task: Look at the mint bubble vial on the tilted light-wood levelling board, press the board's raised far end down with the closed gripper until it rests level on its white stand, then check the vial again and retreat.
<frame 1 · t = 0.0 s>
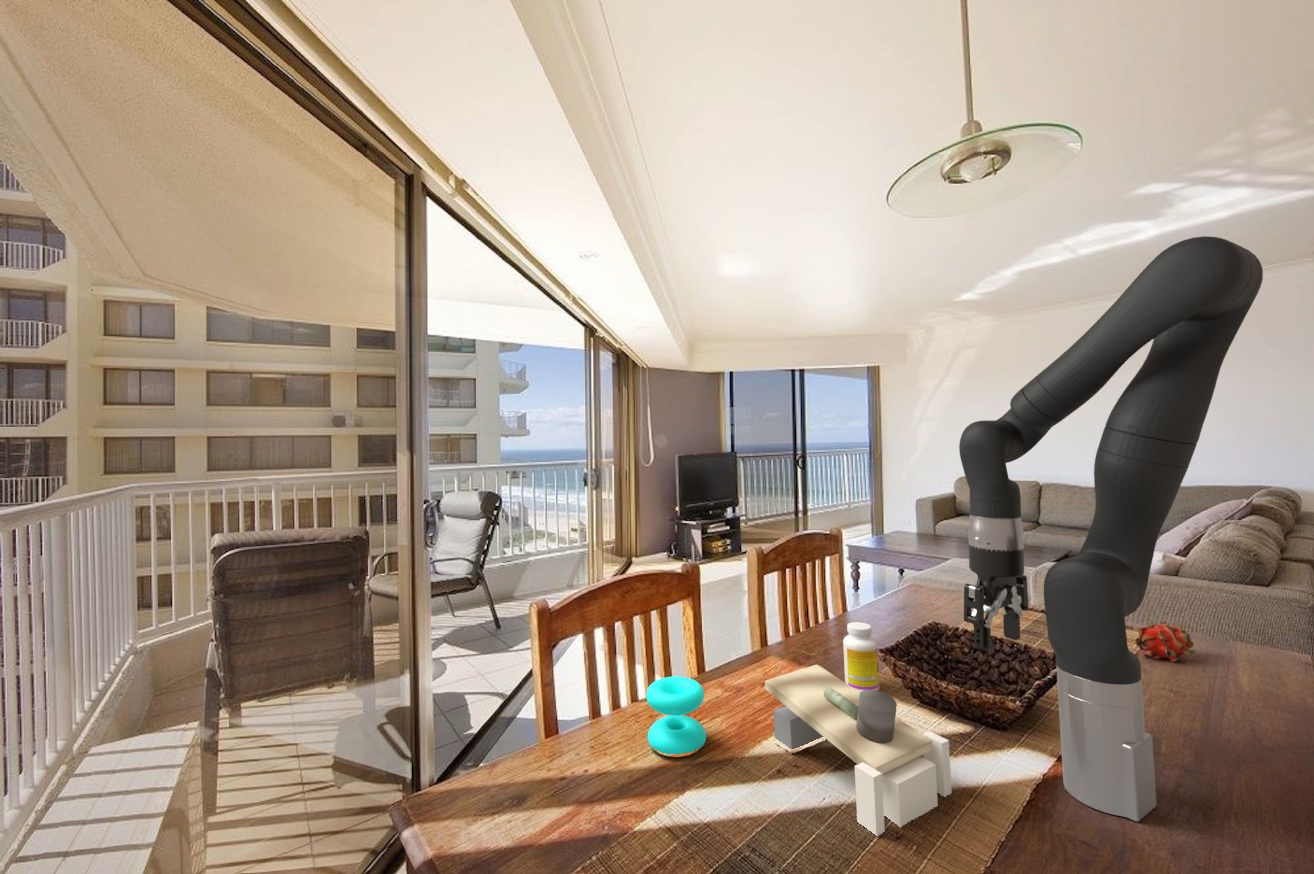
hand: (997, 643, 86), 17 cm above the table, tool pointing down, fingers open, 8 cm apart
level stand: (906, 807, 73), on the table
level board: (843, 697, 82), point 11 cm above the table, hinge at 10.0°
dragon fruit: (1164, 659, 119), on the table
donuts: (677, 745, 91), on the table
supplement bottle: (862, 689, 110), on the table
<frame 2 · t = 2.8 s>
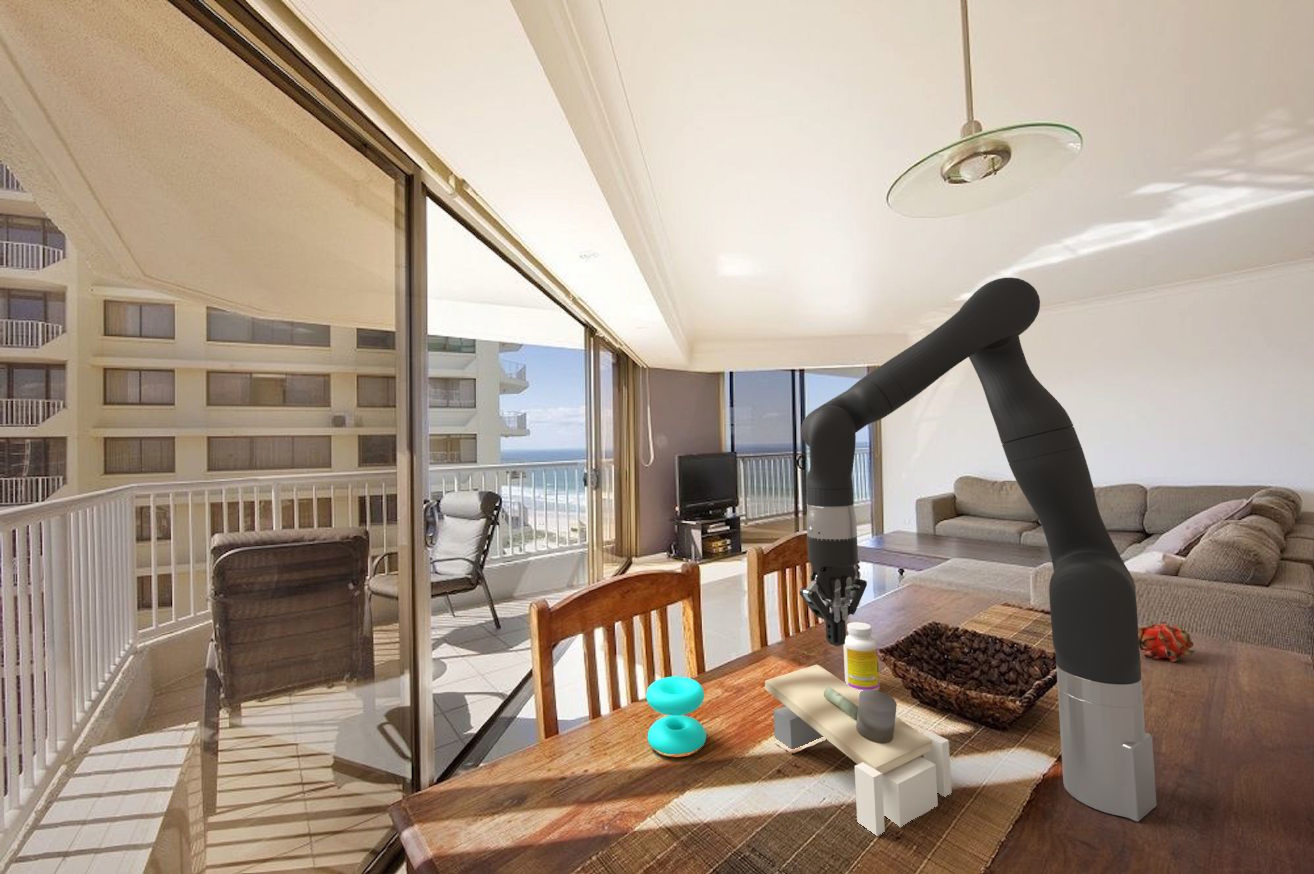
hand: (836, 643, 83), 19 cm above the table, tool pointing down, fingers closed
nothing on the table moved.
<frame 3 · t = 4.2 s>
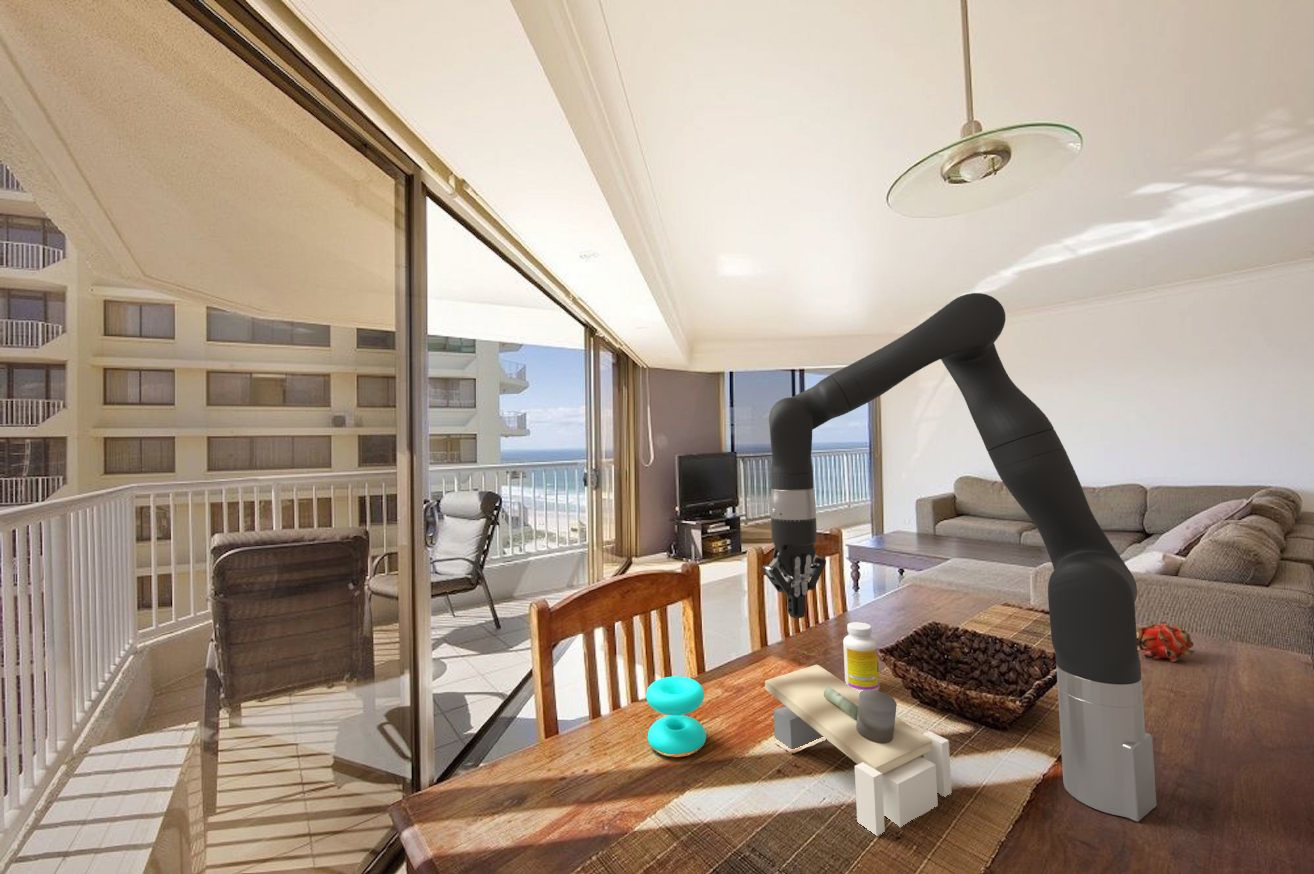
hand: (796, 616, 91), 21 cm above the table, tool pointing down, fingers closed
nothing on the table moved.
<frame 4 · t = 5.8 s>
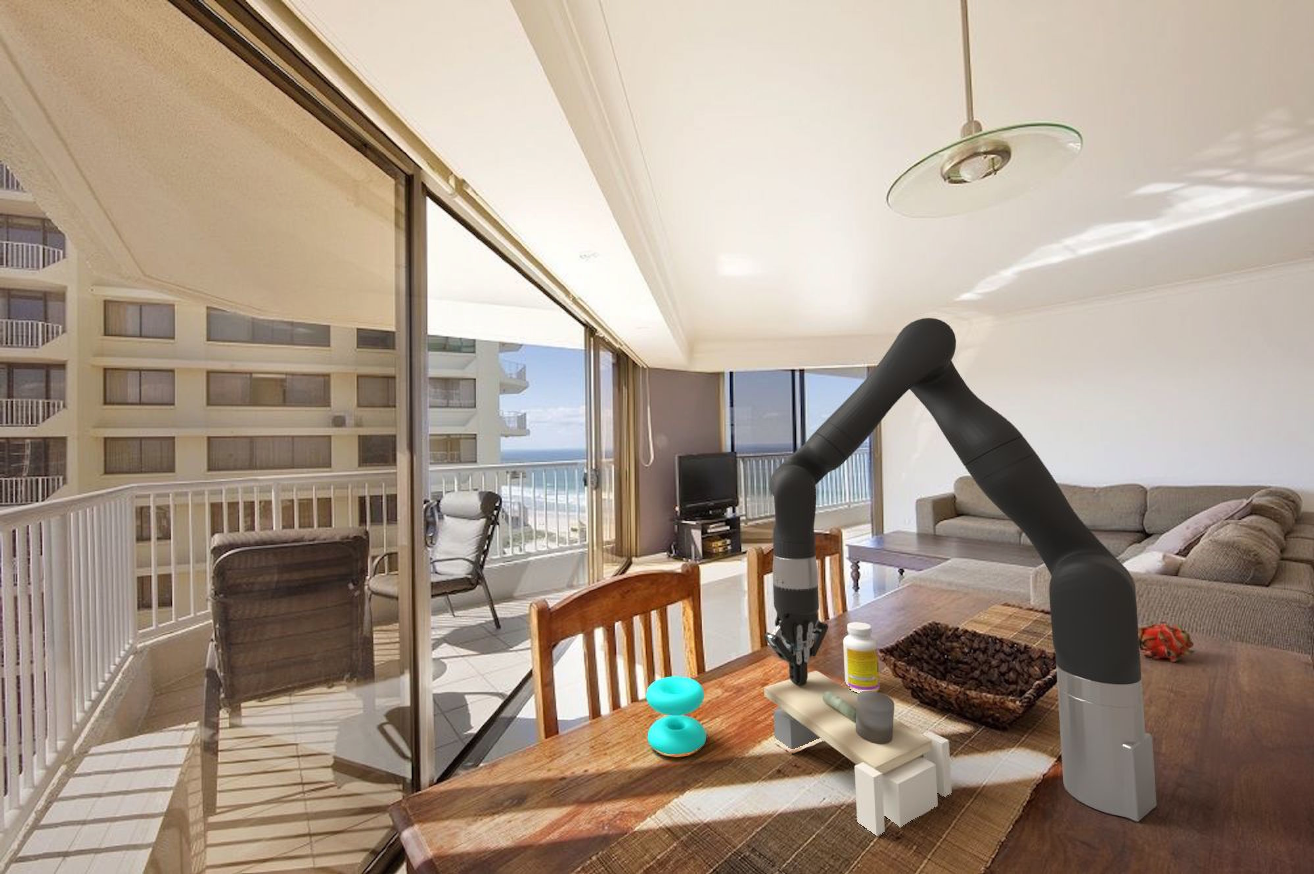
hand: (799, 683, 91), 10 cm above the table, tool pointing down, fingers closed
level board: (841, 700, 83), point 11 cm above the table, hinge at 6.8°, touching gripper
everything else where it was.
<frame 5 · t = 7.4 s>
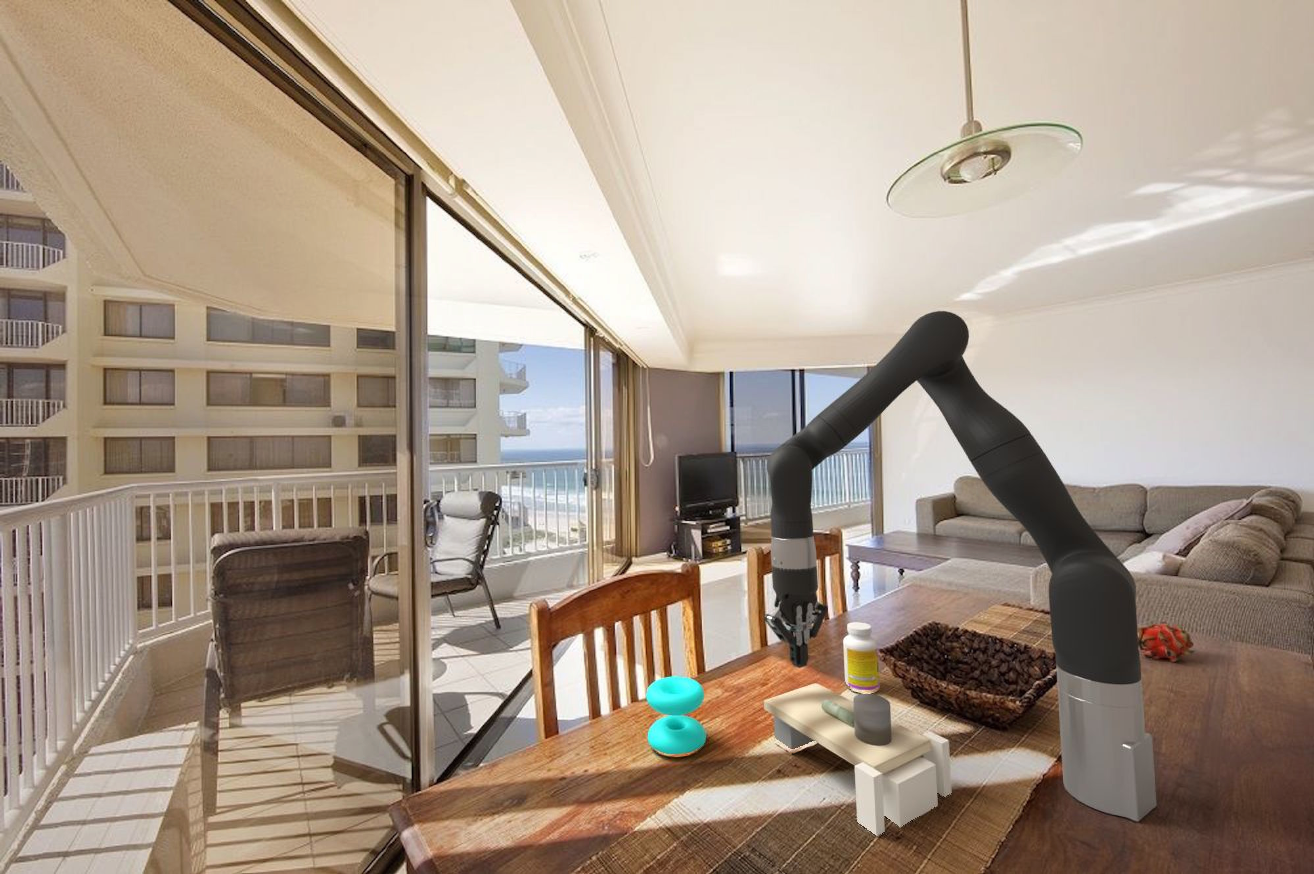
hand: (799, 665, 90), 13 cm above the table, tool pointing down, fingers closed
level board: (840, 707, 83), point 9 cm above the table, hinge at 0.8°
everything else where it was.
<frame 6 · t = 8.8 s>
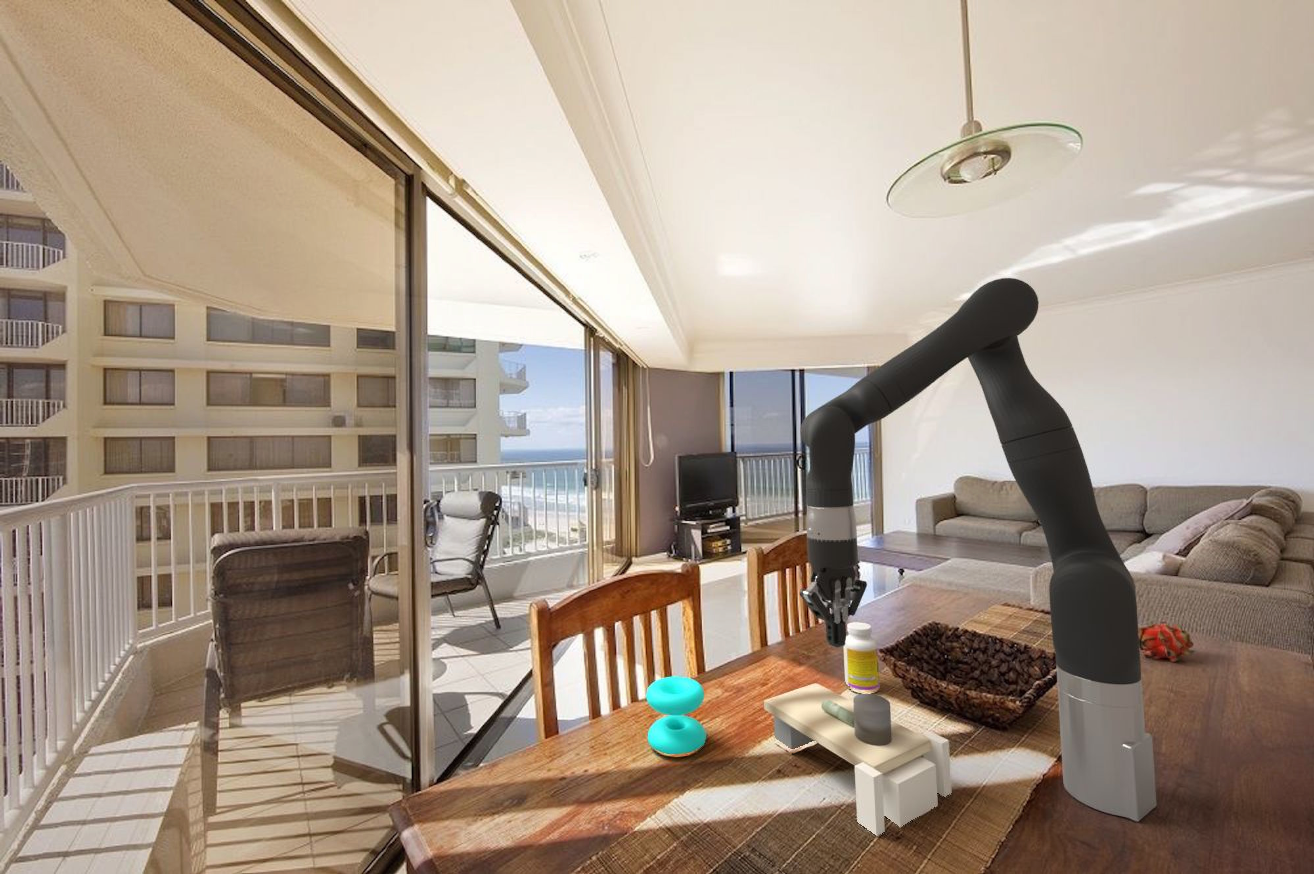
hand: (836, 644, 83), 19 cm above the table, tool pointing down, fingers closed
nothing on the table moved.
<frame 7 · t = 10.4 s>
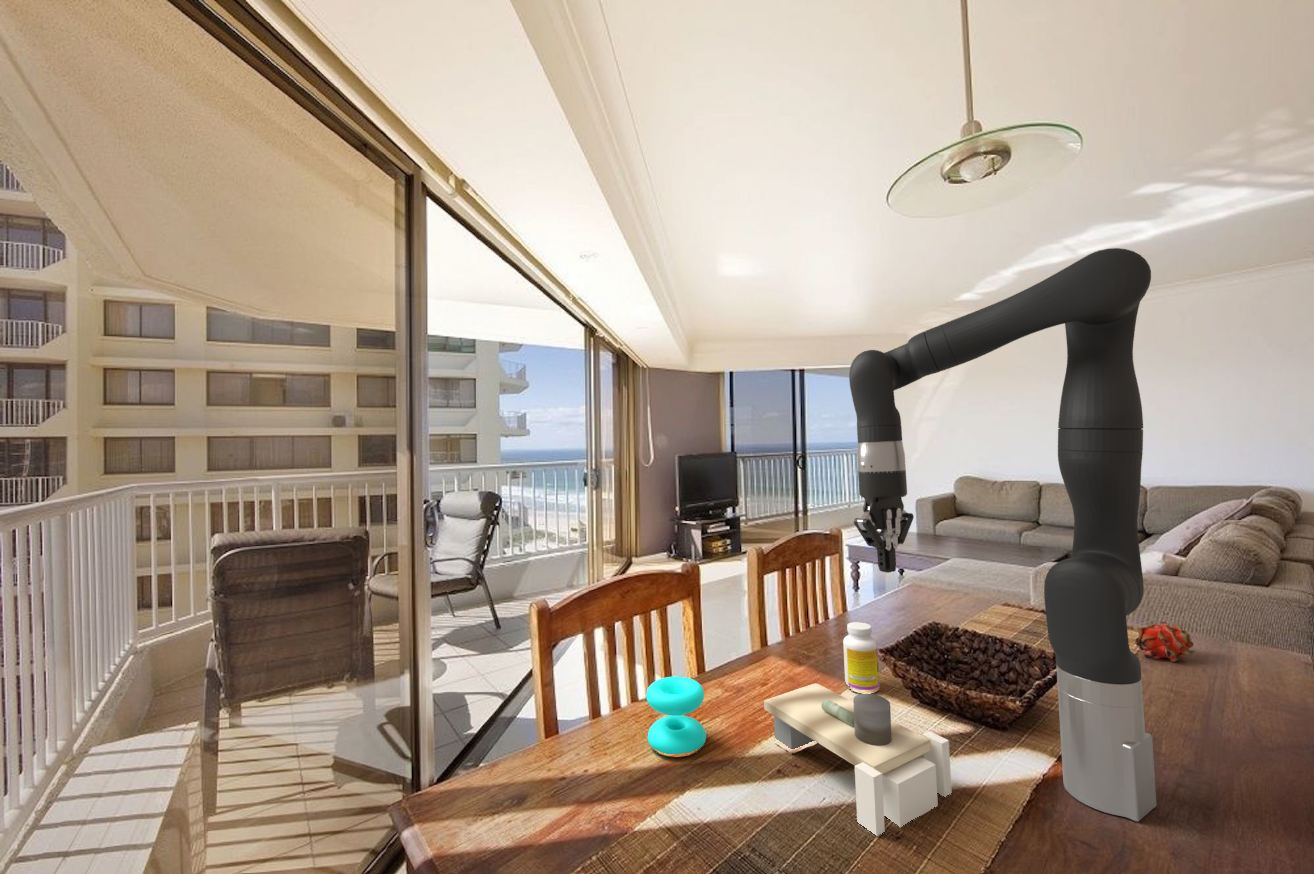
hand: (887, 571, 90), 29 cm above the table, tool pointing down, fingers closed
nothing on the table moved.
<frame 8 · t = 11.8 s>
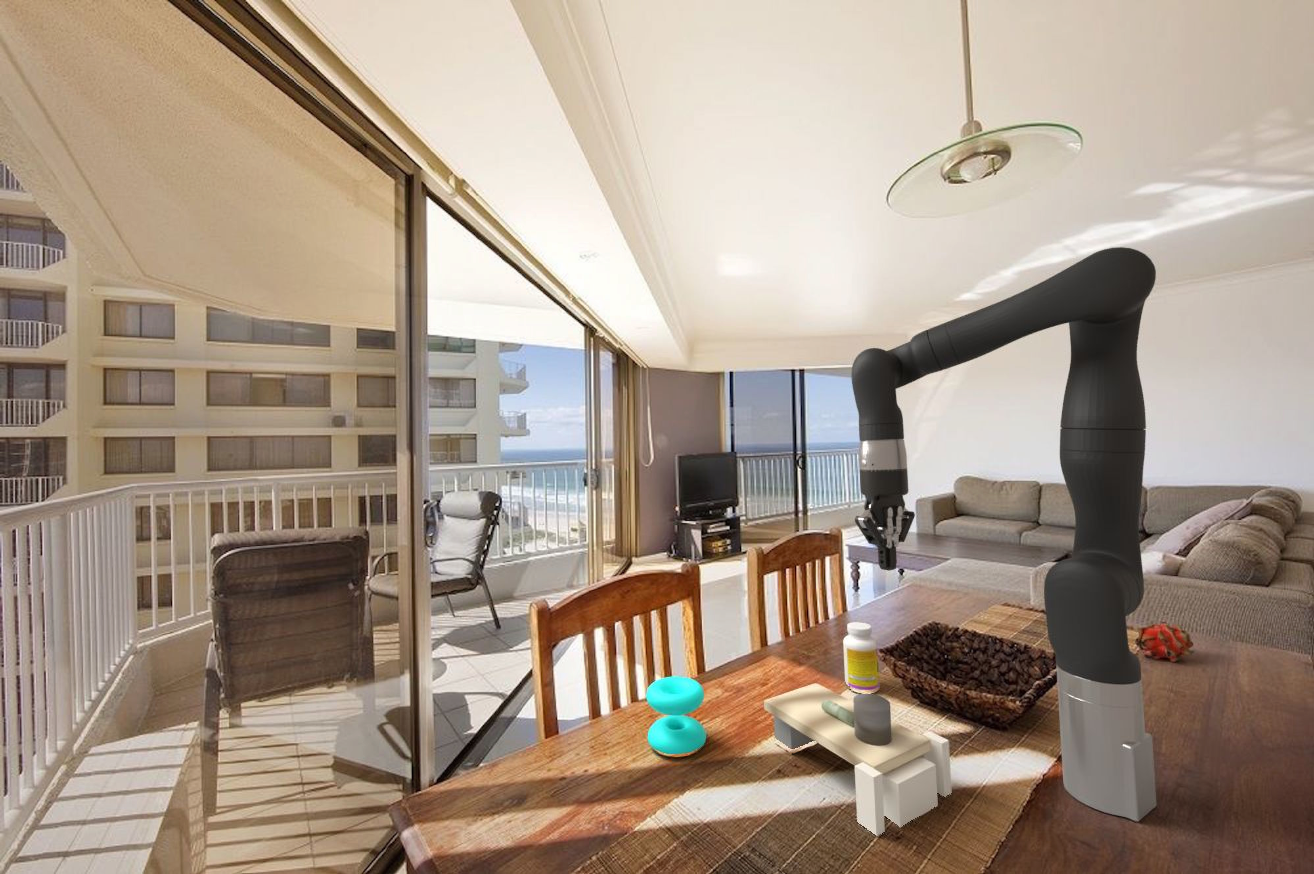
hand: (888, 569, 90), 29 cm above the table, tool pointing down, fingers closed
nothing on the table moved.
at the end: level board at +1° (first picture: +10°); donuts moved 0.3 cm from its start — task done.
